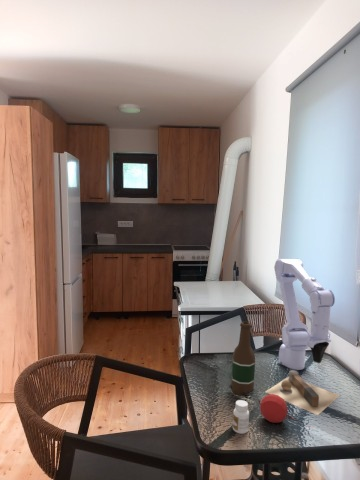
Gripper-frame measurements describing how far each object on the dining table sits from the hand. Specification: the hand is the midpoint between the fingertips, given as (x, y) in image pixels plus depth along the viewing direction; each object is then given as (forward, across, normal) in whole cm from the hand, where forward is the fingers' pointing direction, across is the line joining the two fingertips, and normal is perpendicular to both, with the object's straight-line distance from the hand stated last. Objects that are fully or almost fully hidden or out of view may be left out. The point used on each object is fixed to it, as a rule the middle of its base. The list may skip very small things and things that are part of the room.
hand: (317, 361), depth 125 cm
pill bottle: (+10, -40, +4) cm, 41 cm away
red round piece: (+10, -29, 0) cm, 31 cm away
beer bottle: (+10, -22, +16) cm, 29 cm away
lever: (+8, -10, 0) cm, 12 cm away
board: (+9, -10, 0) cm, 14 cm away
